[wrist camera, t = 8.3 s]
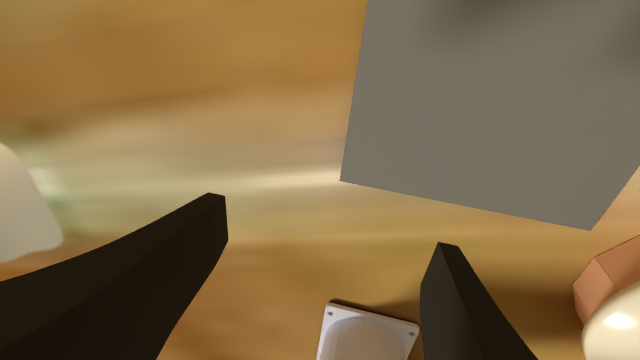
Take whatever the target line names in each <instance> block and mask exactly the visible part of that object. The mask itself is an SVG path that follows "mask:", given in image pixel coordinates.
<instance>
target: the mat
mask: <svg viewBox="0 0 640 360" xmlns="http://www.w3.org/2000/svg"><path fill="white" fill-rule="evenodd" d="M639 165H640V0H368V4H367V11H366V17H365V23H364V30H363V36H362V43H361V49H360V55H359V62H358V68H357V74H356V81H355V87H354V93H353V100H352V106H351V112H350V119H349V125H348V131H347V138H346V144H345V150H344V157H343V163H342V169H341V176H340V181H343V182H348V183H353V184H358V185H363V186H368V187H373V188H378V189H383V190H388V191H393V192H398V193H403V194H408V195H413V196H418V197H423V198H428V199H433V200H438V201H443V202H448V203H453V204H458V205H463V206H468V207H473V208H478V209H483V210H488V211H493V212H498V213H503V214H508V215H513V216H518V217H523V218H528V219H533V220H538V221H543V222H548V223H553V224H558V225H564V226H569V227H574V228H579V229H584V230H589V231H591V230H592V228H593V227H594V225H595V224H596V223H597V221H598V220H599V219H600V217H601V216H602V215H603V213H604V212H605V211H606V209H607V208H608V207H609V205H610V204H611V203H612V201H613V200H614V198H615V197H616V196H617V194H618V193H619V192H620V190H621V189H622V188H623V186H624V185H625V184H626V182H627V181H628V180H629V178H630V177H631V176H632V174H633V173H634V172H635V170H636V169H637V167H638V166H639Z"/></svg>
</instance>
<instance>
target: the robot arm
mask: <svg viewBox="0 0 640 360" xmlns="http://www.w3.org/2000/svg"><path fill="white" fill-rule="evenodd" d="M227 242H228V228H227V215H226V202H225V196H223V195H218V194H213V193H207V194H205V195H202V196H201V197H199V198H197V199H195V200H193V201H191V202H189V203H188V204H186V205H184V206H182V207H180V208H178V209H177V210H175V211H173V212H171V213H169V214H167V215H165V216H164V217H162V218H160V219H158V220H156V221H154V222H152V223H150V224H148V225H146V226H144V227H142V228H140V229H138V230H136V231H134V232H132V233H130V234H128V235H126V236H124V237H122V238H120V239H117V240H115V241H113V242H111V243H108V244H106V245H104V246H101V247H99V248H97V249H94V250H92V251H89V252H87V253H84V254H82V255H79V256H77V257H74V258H71V259H68V260H66V261H63V262H60V263H57V264H54V265H51V266H48V267H45V268H42V269H40V270H37V271H34V272H31V273H28V274H24V275H21V276H18V277H14V278H11V279H8V280H4V281H1V282H0V360H156V359H157V357H158V355H159V353H160V351H161V350H162V348H163V346H164V344H165V342H166V340H167V339H168V337H169V335H170V333H171V332H172V330H173V328H174V327H175V325H176V324H177V322H178V320H179V319H180V318H181V316H182V315H183V313H184V312H185V310H186V309H187V307H188V306H189V304H190V303H191V301H192V300H193V298H194V297H195V295H196V294H197V293H198V291H199V290H200V288H201V287H202V285H203V284H204V282H205V281H206V279H207V278H208V276H209V275H210V273H211V272H212V270H213V269H214V267H215V266H216V264H217V262H218V260H219V258H220V256H221V254H222V252H223V250H224V248H225V246H226V244H227ZM420 319H421V330H422V340H423V349H424V359H425V360H538V359H537V358H536V356H535V355H534V354H533V353H532V351H531V350H530V349H529V348H528V347H527V345H526V344H525V343H524V342H523V340H522V339H521V338H520V336H519V335H518V334H517V332H516V331H515V330H514V328H513V327H512V326H511V324H510V323H509V322H508V321H507V319H506V318H505V316H504V315H503V314H502V312H501V311H500V309H499V308H498V306H497V305H496V304H495V302H494V301H493V299H492V298H491V296H490V295H489V293H488V292H487V290H486V289H485V287H484V286H483V284H482V283H481V281H480V280H479V278H478V277H477V275H476V273H475V272H474V270H473V269H472V267H471V266H470V264H469V262H468V261H467V259H466V258H465V256H464V255H463V253H462V251H461V250H460V248H459V247H458V246H455V245H450V244H446V243H441V242H438V244H437V246H436V249H435V251H434V253H433V256H432V258H431V261H430V263H429V266H428V268H427V271H426V273H425V275H424V278H423V280H422V283H421V292H420ZM418 334H419V326H418V325H417V324H415V323H411V322H407V321H403V320H399V319H395V318H391V317H387V316H383V315H379V314H375V313H371V312H367V311H363V310H359V309H355V308H350V307H346V306H342V305H338V304H334V303H328V304H327V305H326V308H325V313H324V319H323V325H322V331H321V336H320V342H319V348H318V354H317V360H407V358H408V355H409V353H410V351H411V349H412V347H413V345H414V342H415V340H416V338H417V336H418Z"/></svg>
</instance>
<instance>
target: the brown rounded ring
mask: <svg viewBox="0 0 640 360" xmlns="http://www.w3.org/2000/svg"><path fill="white" fill-rule="evenodd" d="M639 281H640V236H637V237H635V238H633V239H631V240H629V241H627V242H625V243H623V244H621V245H619V246H617V247H615V248H613V249H611V250H609V251H607V252H604V253H602V254H600V255H598V256H596V257H594V259H593V260H592V261H591V262H590V264H589V265H588V266H587V267H586V269H585V270H584V271H583V272H582V274H581V275H580V276H579V277H578V279H577V280H576V281H575V282H574V284H573V291H574V300H575V309H576V312H577V314H578V315H579V317H580V319H581V321H582V323H583V325H585V323H586V322H587V320H588V318H589V317H590V315H591V314H592V313H593V312H594V311H595V310H596V309H597V308H598V307H599V306H600V305H601V304H602V303H604V302H605V301H606V300H607V299H609V298H610V297H612V296H613V295H615V294H616V293H618V292H619V291H621V290H623V289H625V288H627V287H628V286H630V285H632V284H634V283H636V282H639Z"/></svg>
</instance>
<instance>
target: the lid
mask: <svg viewBox="0 0 640 360" xmlns="http://www.w3.org/2000/svg"><path fill="white" fill-rule="evenodd" d="M580 343H581V350H582V352H583V355H584V357H585V359H586V360H640V281H639V282H636V283H634V284H632V285H630V286H628V287H627V288H625V289H623V290H621V291H619V292H618V293H616V294H615V295H613V296H612V297H610V298H609V299H607V300H606V301H605V302H604V303H602V304H601V305H600V306H599V307H598V308H597V309H596V310H595V311H594V312H593V313H592V314H591V315H590V317H589V318H588V320H587V322H586V323H585V325H584V327H583V330H582V333H581V340H580Z"/></svg>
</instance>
